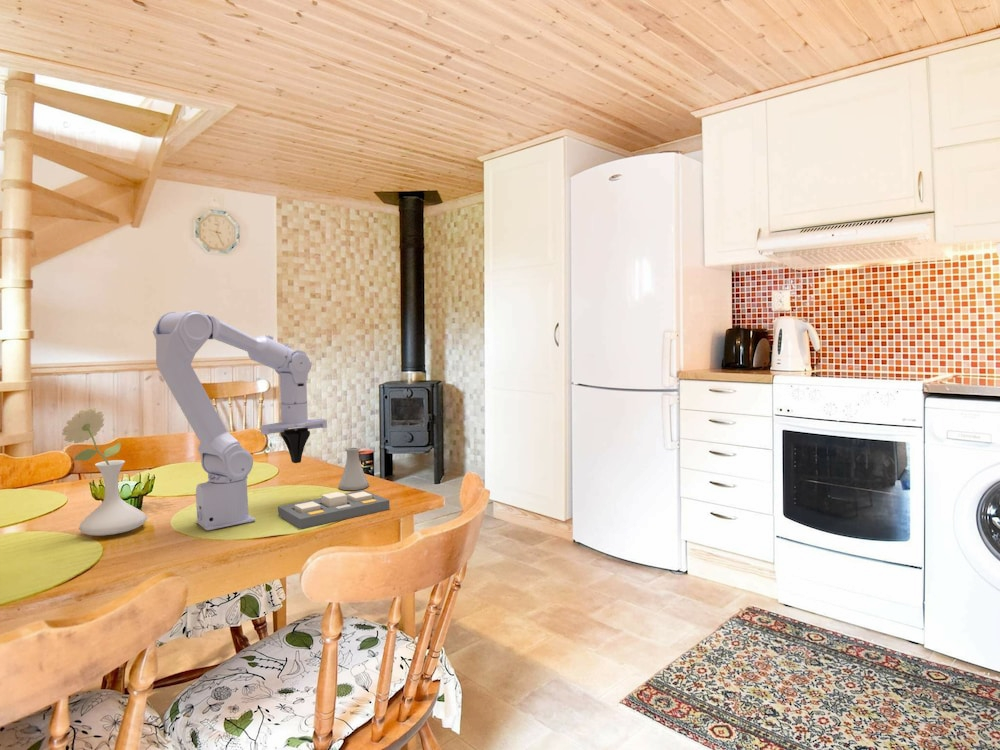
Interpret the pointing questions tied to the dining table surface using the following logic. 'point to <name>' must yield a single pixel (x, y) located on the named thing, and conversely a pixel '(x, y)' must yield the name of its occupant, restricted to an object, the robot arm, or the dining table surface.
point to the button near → (307, 507)
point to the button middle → (334, 499)
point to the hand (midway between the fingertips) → (296, 462)
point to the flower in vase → (113, 509)
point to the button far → (359, 496)
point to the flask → (353, 472)
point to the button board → (332, 511)
